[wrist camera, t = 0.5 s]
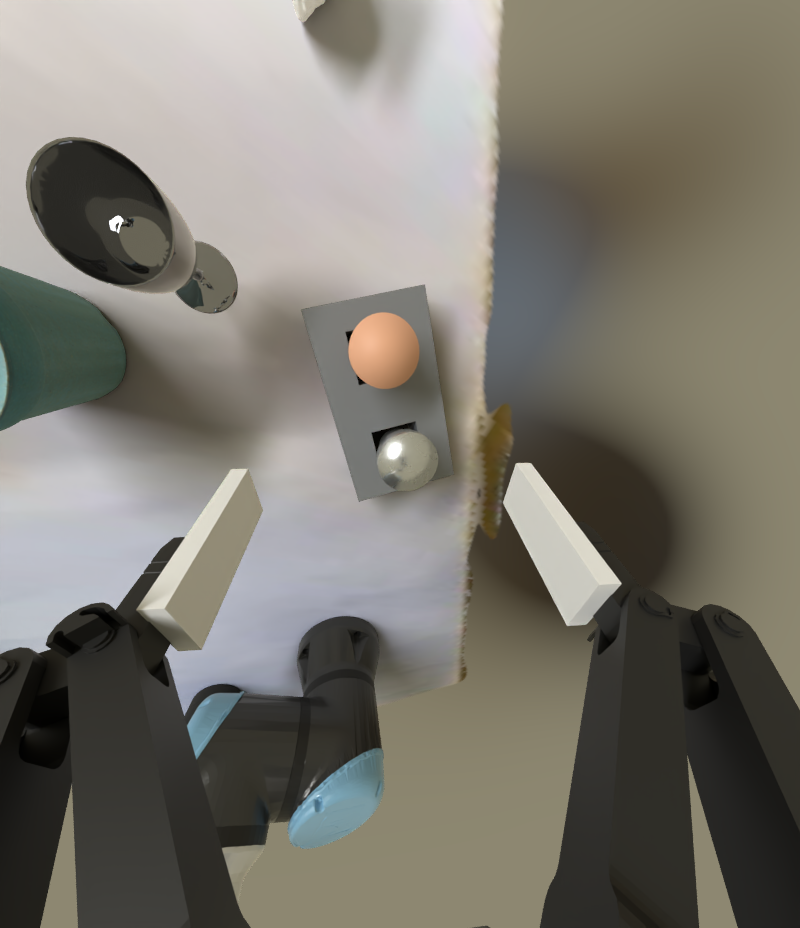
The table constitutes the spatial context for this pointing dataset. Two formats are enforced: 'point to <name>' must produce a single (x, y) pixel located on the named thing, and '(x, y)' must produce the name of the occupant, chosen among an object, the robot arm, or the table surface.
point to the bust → (305, 8)
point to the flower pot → (52, 349)
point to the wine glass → (122, 225)
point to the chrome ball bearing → (406, 459)
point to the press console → (373, 407)
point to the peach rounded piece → (383, 350)
